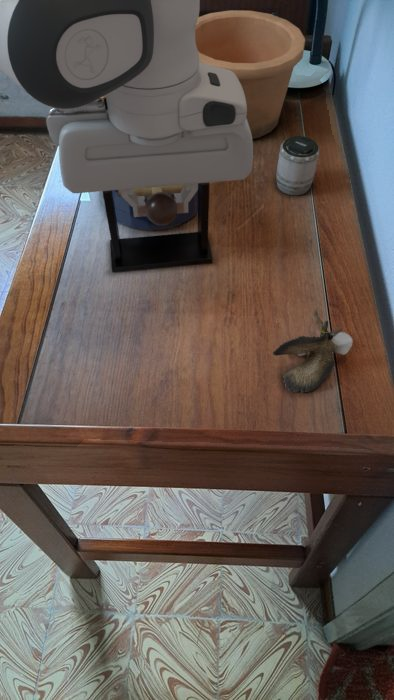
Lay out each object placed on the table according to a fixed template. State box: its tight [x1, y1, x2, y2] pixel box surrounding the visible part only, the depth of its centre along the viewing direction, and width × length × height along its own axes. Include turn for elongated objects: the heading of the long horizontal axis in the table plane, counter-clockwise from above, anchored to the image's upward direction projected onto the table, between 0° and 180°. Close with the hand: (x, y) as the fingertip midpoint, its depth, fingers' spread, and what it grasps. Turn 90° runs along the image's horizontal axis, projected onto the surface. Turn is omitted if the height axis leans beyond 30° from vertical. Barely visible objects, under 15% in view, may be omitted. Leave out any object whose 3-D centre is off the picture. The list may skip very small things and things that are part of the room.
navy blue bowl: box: [98, 190, 198, 231], centre depth 83 cm, size 17×17×6 cm
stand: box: [103, 182, 213, 273], centre depth 72 cm, size 15×6×14 cm, turn 98°
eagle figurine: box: [272, 308, 354, 394], centre depth 64 cm, size 8×7×9 cm
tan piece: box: [118, 184, 185, 226], centre depth 66 cm, size 10×25×4 cm, turn 8°
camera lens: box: [276, 135, 321, 196], centre depth 84 cm, size 6×6×8 cm
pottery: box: [195, 9, 306, 140], centre depth 93 cm, size 22×22×14 cm
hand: (160, 211), depth 59 cm, fingers open, 3 cm apart
